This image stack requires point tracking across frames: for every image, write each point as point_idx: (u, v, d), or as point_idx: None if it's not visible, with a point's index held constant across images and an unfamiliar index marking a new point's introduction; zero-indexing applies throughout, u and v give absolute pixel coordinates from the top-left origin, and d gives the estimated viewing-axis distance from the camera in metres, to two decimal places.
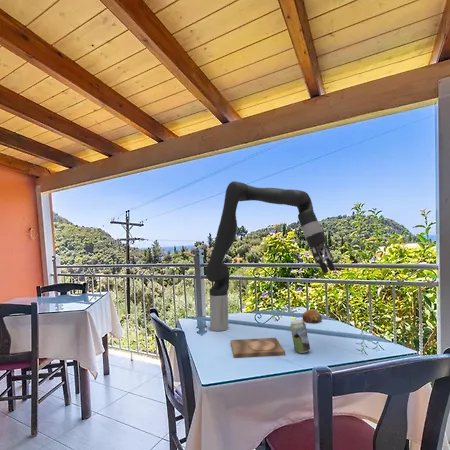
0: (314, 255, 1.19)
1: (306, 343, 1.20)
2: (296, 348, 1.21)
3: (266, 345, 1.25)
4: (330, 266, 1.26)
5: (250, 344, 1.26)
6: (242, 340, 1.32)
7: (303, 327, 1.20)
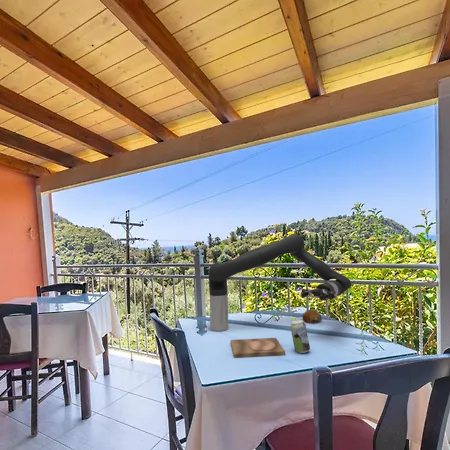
0: (334, 293, 1.32)
1: (306, 343, 1.20)
2: (296, 348, 1.21)
3: (266, 345, 1.25)
4: (305, 295, 1.35)
5: (250, 344, 1.26)
6: (242, 340, 1.32)
7: (303, 327, 1.20)
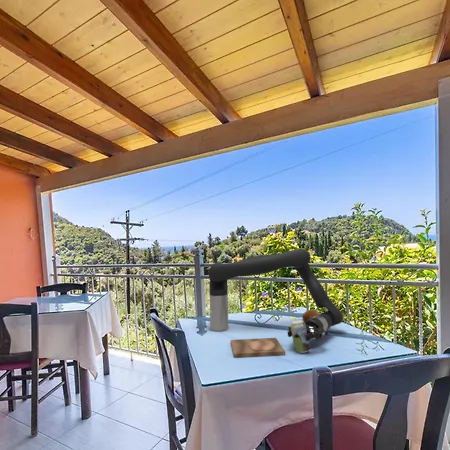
0: (322, 333, 1.22)
1: (306, 343, 1.20)
2: (296, 348, 1.21)
3: (266, 345, 1.25)
4: (291, 333, 1.25)
5: (250, 344, 1.26)
6: (242, 340, 1.32)
7: (303, 327, 1.20)
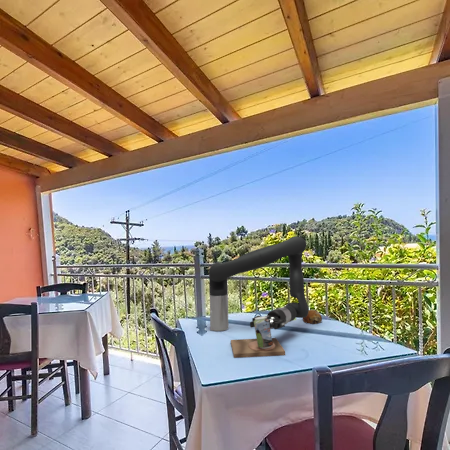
0: (280, 323, 1.25)
1: (267, 339, 1.20)
2: (258, 343, 1.22)
3: None
4: None
5: (250, 344, 1.26)
6: (242, 340, 1.32)
7: (264, 323, 1.21)
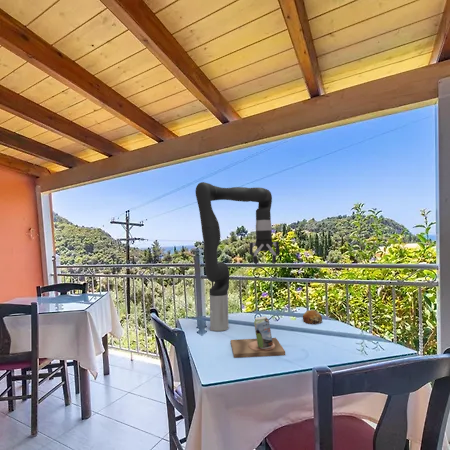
0: (249, 248, 1.46)
1: (267, 339, 1.20)
2: (258, 344, 1.22)
3: None
4: (272, 259, 1.46)
5: (250, 344, 1.26)
6: (242, 340, 1.32)
7: (264, 323, 1.21)
